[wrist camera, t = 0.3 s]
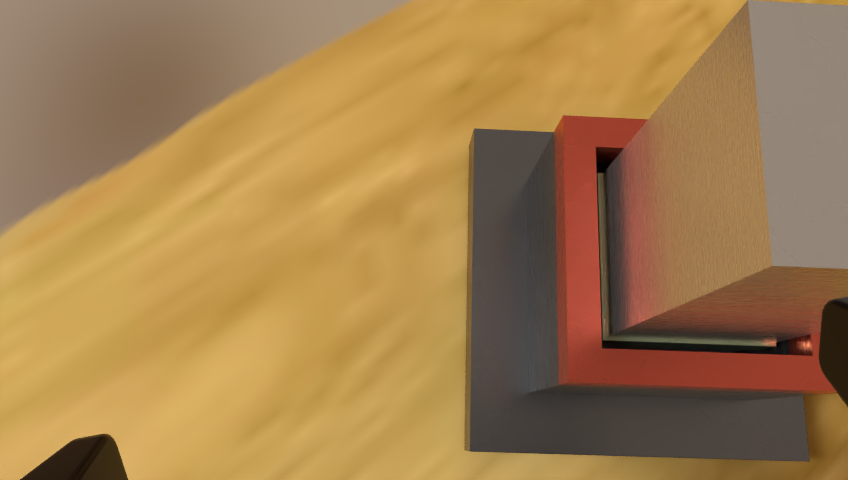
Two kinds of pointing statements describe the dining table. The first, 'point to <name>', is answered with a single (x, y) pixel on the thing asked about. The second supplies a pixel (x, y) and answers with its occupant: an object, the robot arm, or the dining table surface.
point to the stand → (596, 326)
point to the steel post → (734, 192)
